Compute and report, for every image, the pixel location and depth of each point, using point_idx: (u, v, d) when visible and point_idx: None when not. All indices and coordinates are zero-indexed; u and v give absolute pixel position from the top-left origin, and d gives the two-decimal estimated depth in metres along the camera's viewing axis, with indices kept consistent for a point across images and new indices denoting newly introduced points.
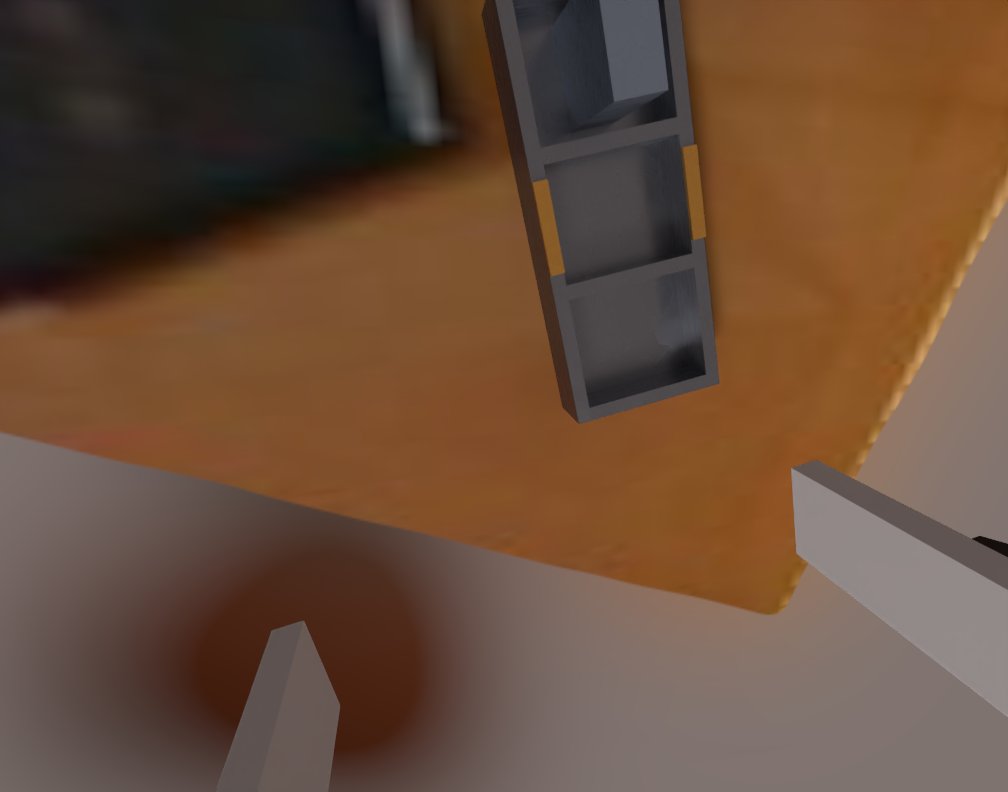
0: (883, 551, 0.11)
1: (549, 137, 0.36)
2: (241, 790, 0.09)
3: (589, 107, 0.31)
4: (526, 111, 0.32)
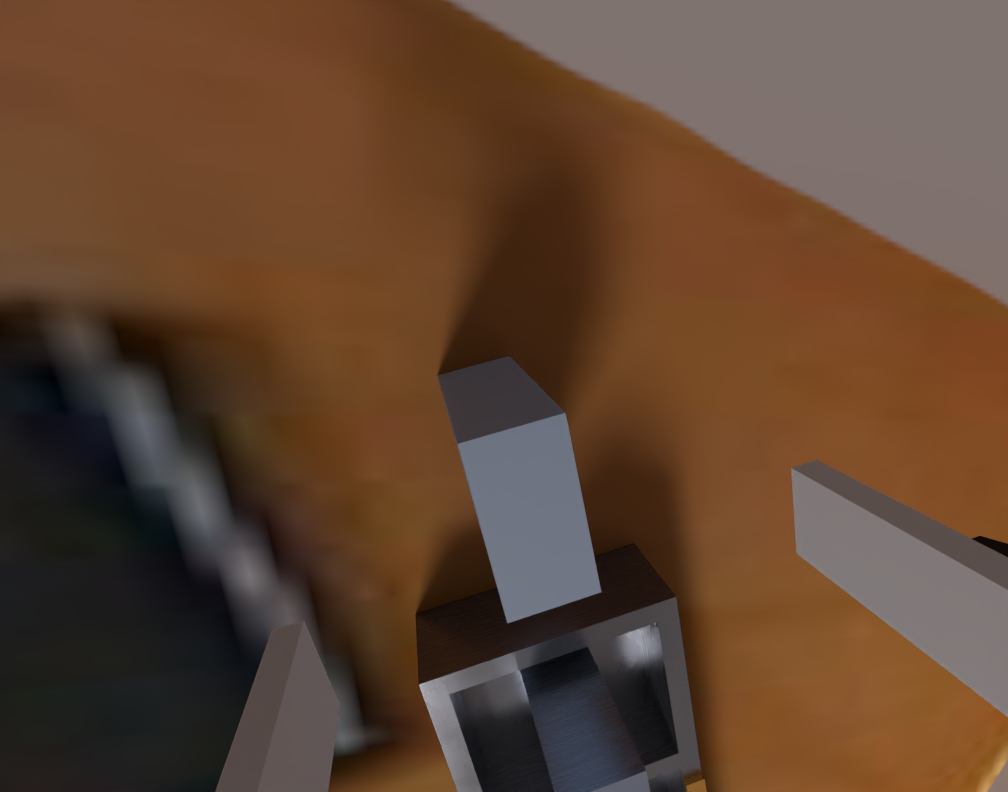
0: (883, 551, 0.11)
1: (509, 740, 0.27)
2: (241, 790, 0.09)
3: None
4: None
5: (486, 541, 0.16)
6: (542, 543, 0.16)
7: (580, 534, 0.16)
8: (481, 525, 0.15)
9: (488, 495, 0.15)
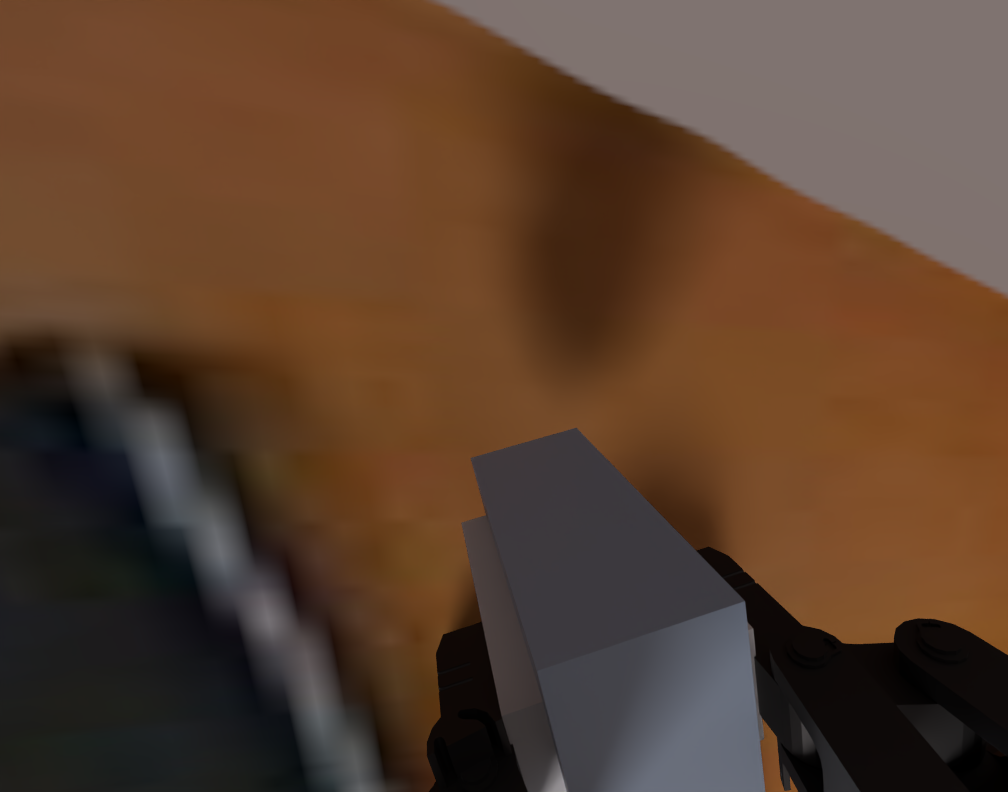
0: None
1: None
2: (501, 609, 0.11)
3: None
4: None
5: None
6: None
7: None
8: None
9: (590, 755, 0.08)
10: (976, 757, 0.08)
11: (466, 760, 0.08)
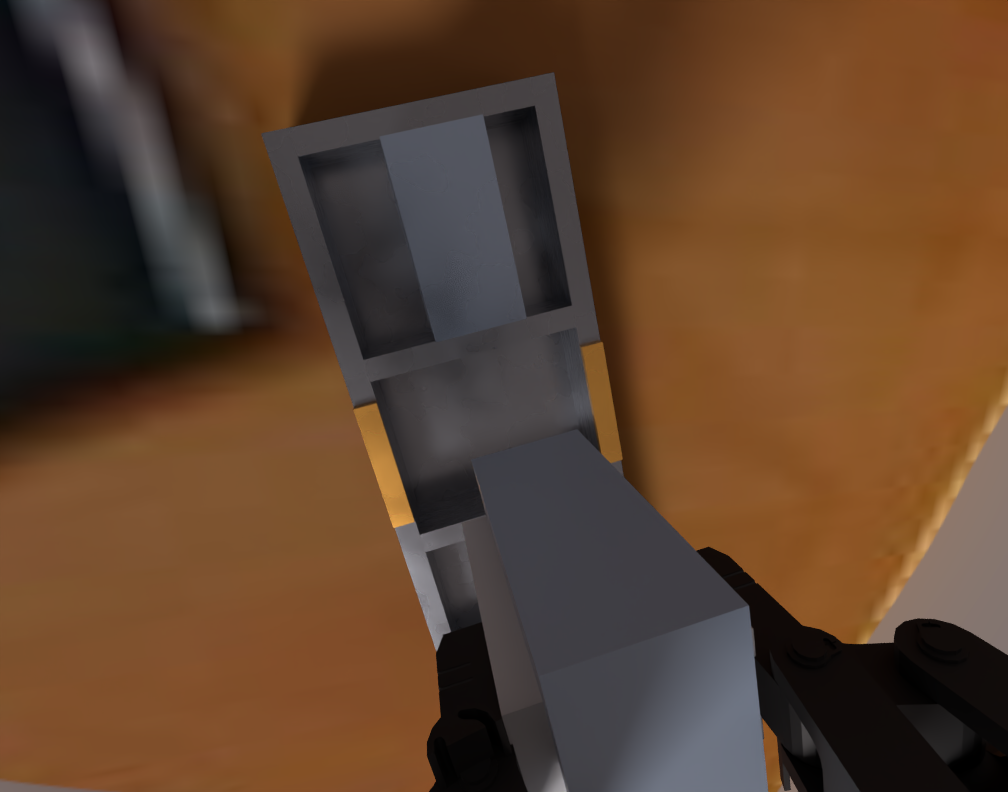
0: None
1: (396, 321, 0.25)
2: (501, 609, 0.11)
3: None
4: (336, 312, 0.21)
5: None
6: None
7: None
8: None
9: (592, 760, 0.08)
10: (976, 757, 0.08)
11: (466, 760, 0.08)
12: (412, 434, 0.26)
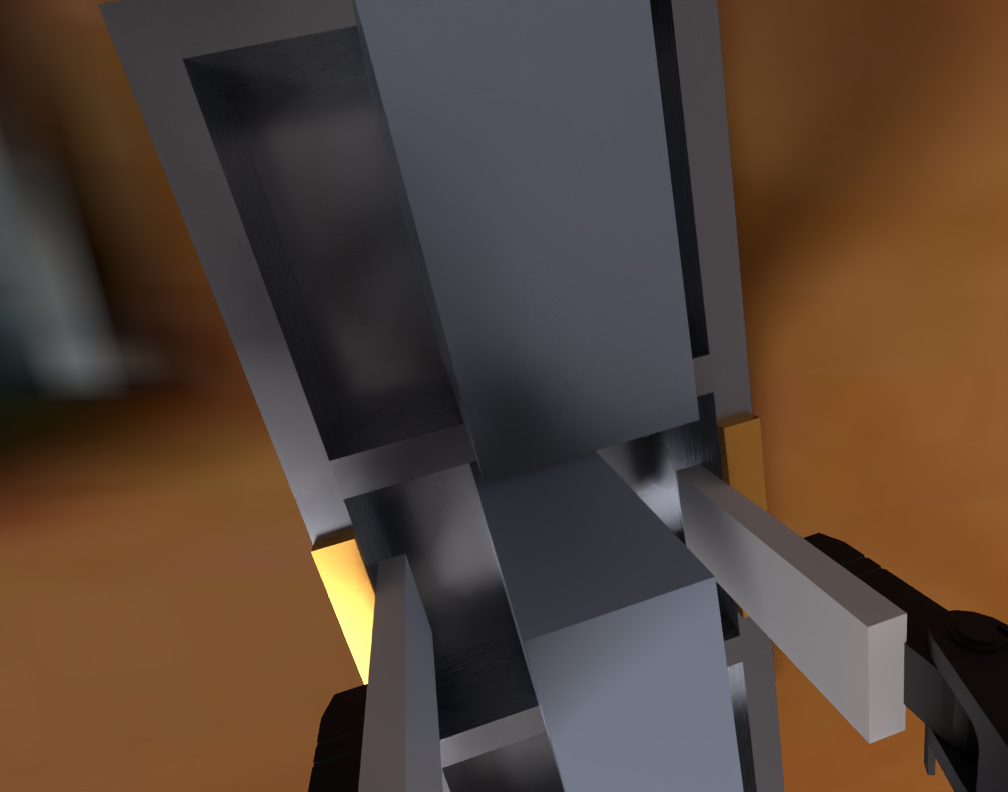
0: (737, 547, 0.12)
1: (392, 377, 0.14)
2: (391, 670, 0.10)
3: (450, 379, 0.10)
4: (275, 375, 0.11)
5: (568, 791, 0.09)
6: (661, 784, 0.09)
7: (724, 763, 0.09)
8: (560, 766, 0.09)
9: (574, 719, 0.09)
10: None
11: None
12: (419, 556, 0.16)
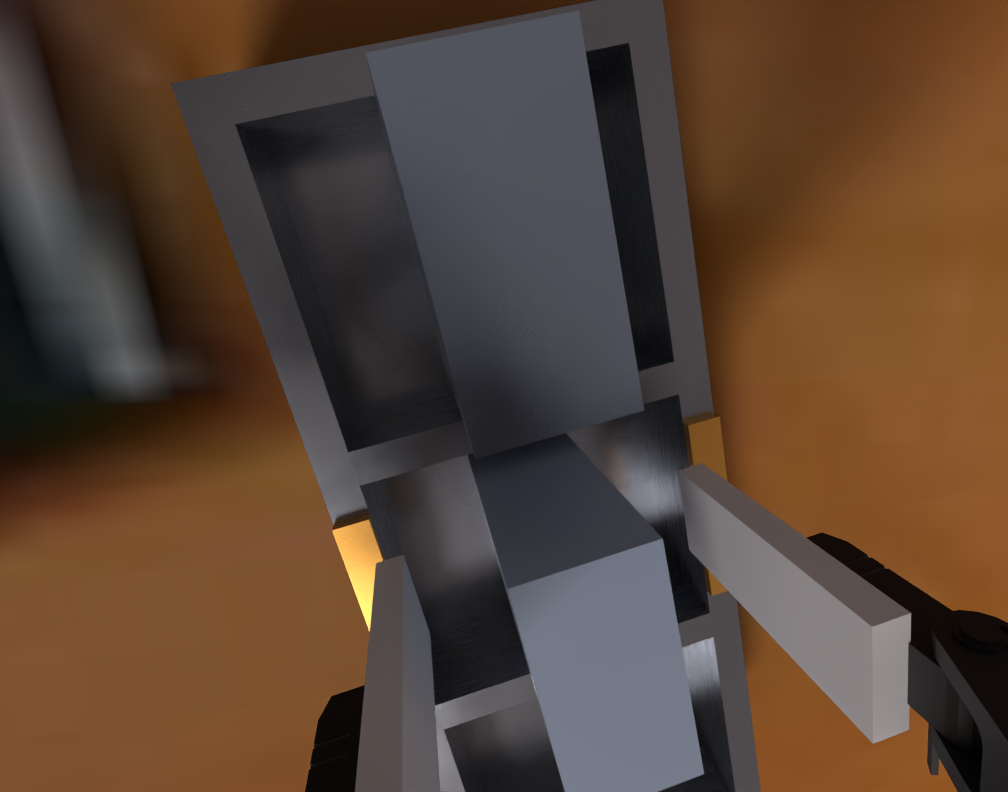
0: (740, 547, 0.12)
1: (401, 382, 0.17)
2: (388, 672, 0.10)
3: (451, 381, 0.12)
4: (304, 379, 0.13)
5: (547, 718, 0.11)
6: (624, 716, 0.11)
7: (678, 700, 0.11)
8: (540, 697, 0.11)
9: (550, 656, 0.10)
10: None
11: None
12: (424, 542, 0.18)
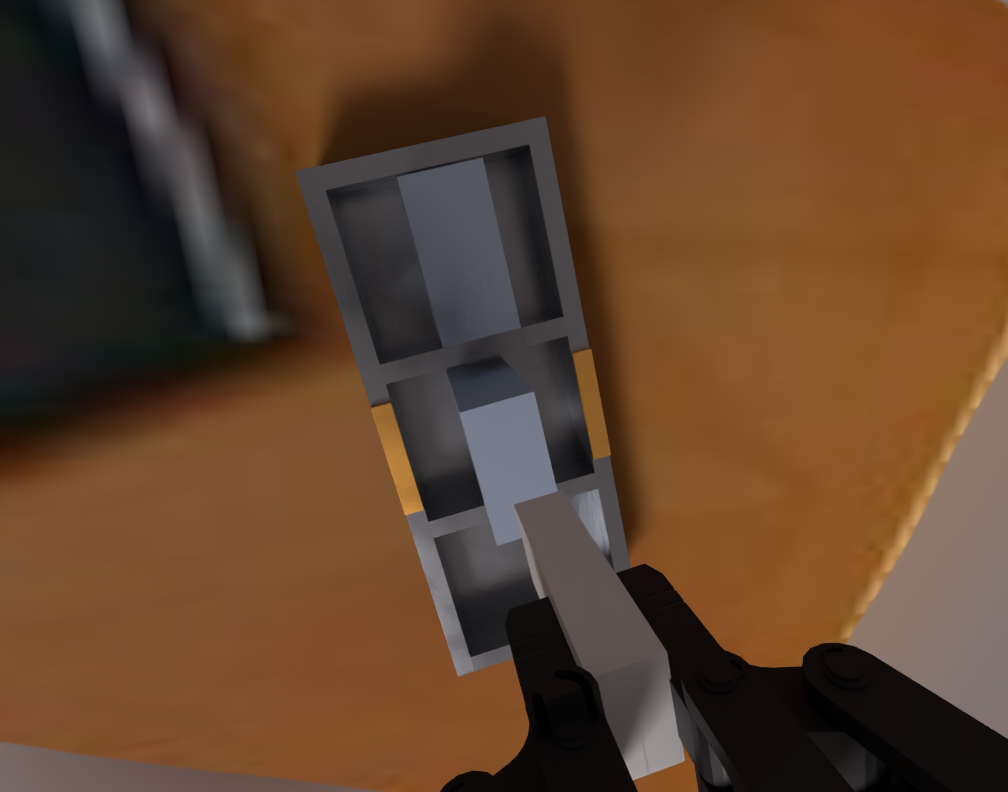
0: None
1: (408, 331, 0.28)
2: (569, 582, 0.11)
3: None
4: (356, 323, 0.24)
5: (480, 483, 0.22)
6: (520, 486, 0.22)
7: (548, 480, 0.23)
8: (476, 471, 0.22)
9: (481, 449, 0.22)
10: (885, 780, 0.08)
11: (561, 717, 0.08)
12: (422, 432, 0.29)
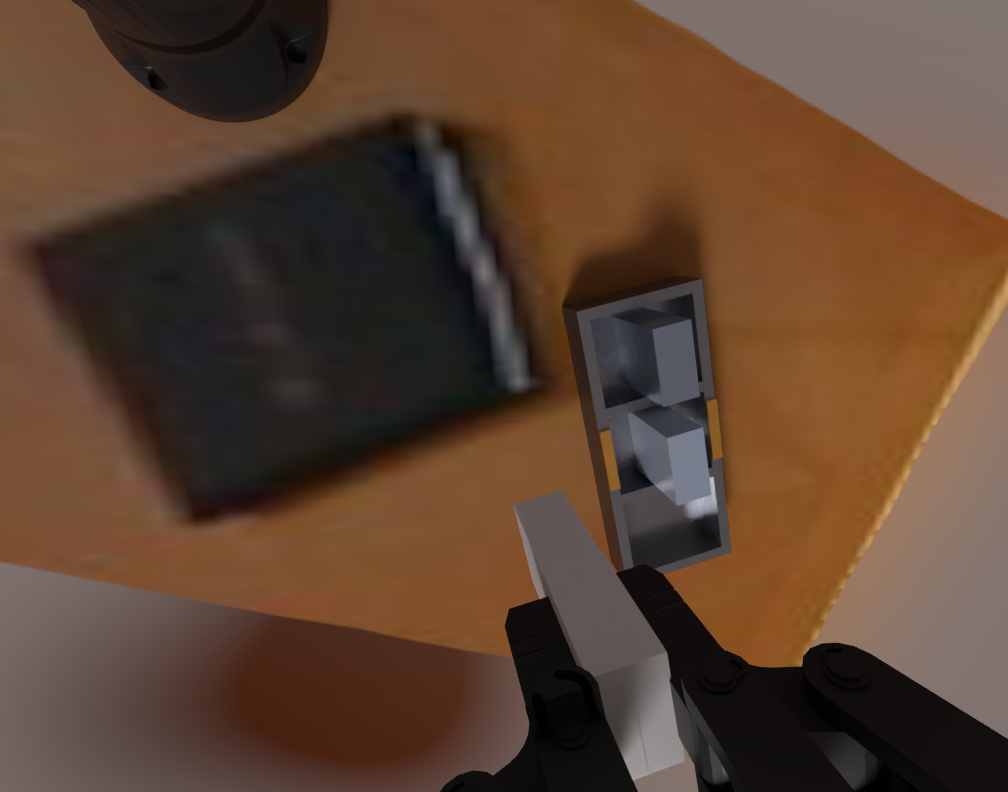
0: None
1: (608, 387, 0.49)
2: (569, 583, 0.11)
3: (642, 388, 0.45)
4: (596, 387, 0.45)
5: (673, 473, 0.43)
6: (691, 474, 0.44)
7: (705, 471, 0.44)
8: (671, 467, 0.43)
9: (675, 456, 0.43)
10: (885, 780, 0.08)
11: (561, 717, 0.08)
12: None
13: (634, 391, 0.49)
